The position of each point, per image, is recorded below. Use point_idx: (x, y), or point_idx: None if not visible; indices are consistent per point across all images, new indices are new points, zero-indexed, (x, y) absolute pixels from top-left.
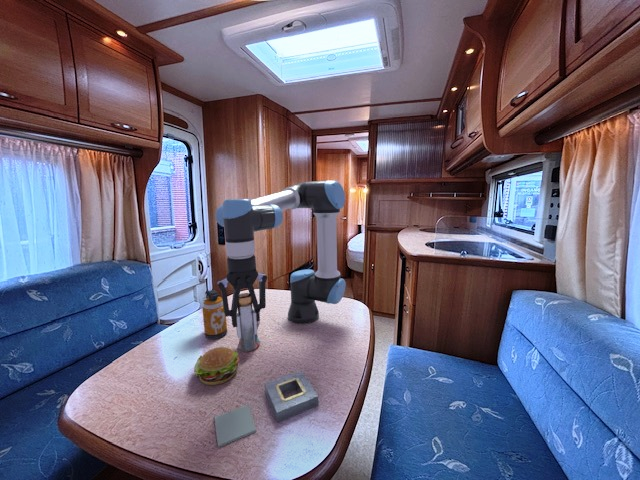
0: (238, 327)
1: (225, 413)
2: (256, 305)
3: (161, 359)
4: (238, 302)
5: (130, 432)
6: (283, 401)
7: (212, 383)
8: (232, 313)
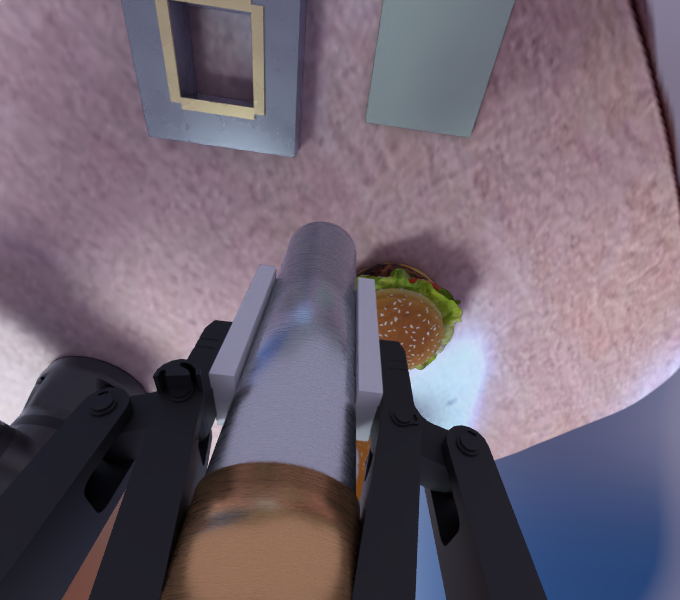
0: (371, 325)
1: (438, 129)
2: (165, 441)
3: (478, 410)
4: (353, 553)
5: (638, 228)
6: (258, 5)
7: (420, 272)
8: (420, 438)
